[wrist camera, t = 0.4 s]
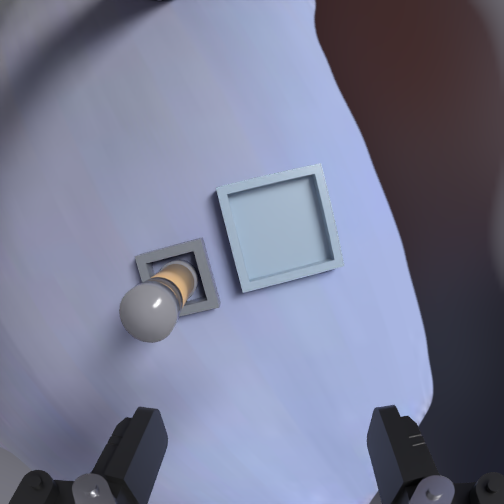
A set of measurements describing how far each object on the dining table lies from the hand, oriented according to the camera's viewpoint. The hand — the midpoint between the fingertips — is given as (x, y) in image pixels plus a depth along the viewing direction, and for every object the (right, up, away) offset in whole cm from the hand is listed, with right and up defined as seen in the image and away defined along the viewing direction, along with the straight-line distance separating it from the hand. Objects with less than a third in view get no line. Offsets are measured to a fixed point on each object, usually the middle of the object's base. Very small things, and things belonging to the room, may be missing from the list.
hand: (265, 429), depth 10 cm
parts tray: (+3, +9, +26) cm, 28 cm away
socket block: (-9, +3, +27) cm, 28 cm away
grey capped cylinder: (-9, +3, +27) cm, 28 cm away
